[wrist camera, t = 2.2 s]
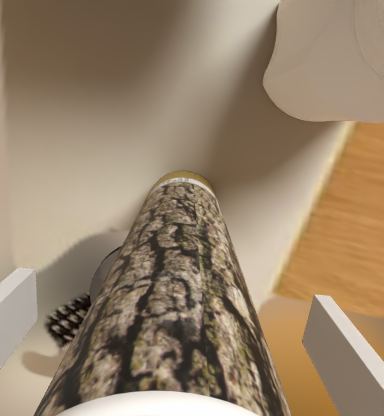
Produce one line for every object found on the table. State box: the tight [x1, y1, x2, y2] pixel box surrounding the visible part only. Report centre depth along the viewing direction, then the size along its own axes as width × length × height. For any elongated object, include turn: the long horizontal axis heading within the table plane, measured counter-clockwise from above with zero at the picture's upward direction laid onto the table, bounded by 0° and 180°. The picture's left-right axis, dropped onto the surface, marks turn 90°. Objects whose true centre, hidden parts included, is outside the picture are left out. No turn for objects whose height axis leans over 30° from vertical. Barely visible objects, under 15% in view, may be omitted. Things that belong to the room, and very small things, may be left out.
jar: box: [263, 0, 384, 123], centre depth 19 cm, size 12×10×15 cm
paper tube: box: [34, 171, 292, 416], centre depth 18 cm, size 7×7×25 cm
